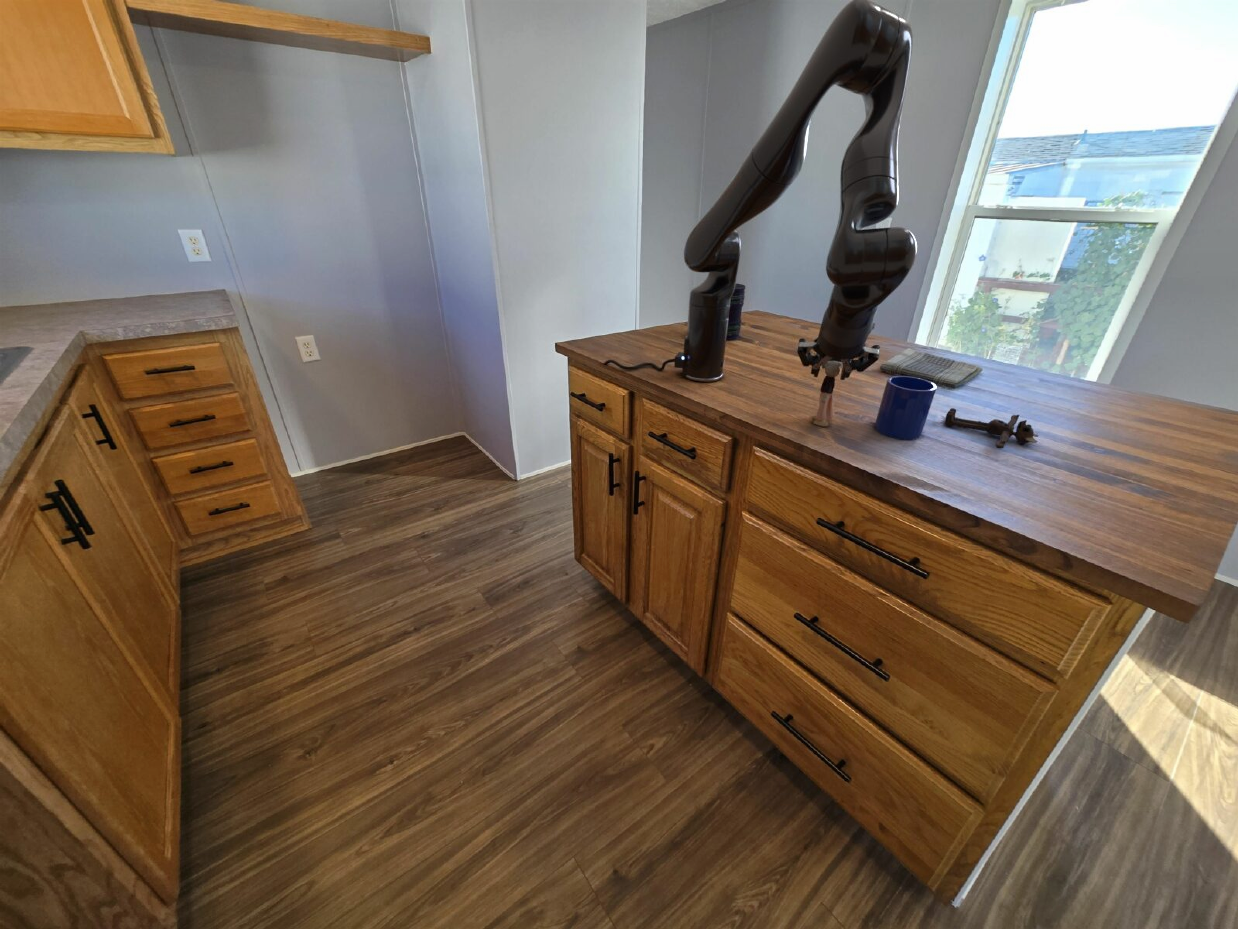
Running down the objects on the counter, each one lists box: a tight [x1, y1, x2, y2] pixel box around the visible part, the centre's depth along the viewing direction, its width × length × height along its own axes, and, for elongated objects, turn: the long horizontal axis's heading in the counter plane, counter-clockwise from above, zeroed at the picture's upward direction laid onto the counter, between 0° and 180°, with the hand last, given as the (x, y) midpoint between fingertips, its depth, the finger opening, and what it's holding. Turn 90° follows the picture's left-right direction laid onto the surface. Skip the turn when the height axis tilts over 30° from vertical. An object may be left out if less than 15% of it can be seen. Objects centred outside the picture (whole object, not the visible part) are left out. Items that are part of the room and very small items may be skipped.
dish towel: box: [879, 348, 983, 389], centre depth 125 cm, size 19×18×3 cm
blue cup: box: [874, 375, 938, 441], centre depth 94 cm, size 8×8×10 cm
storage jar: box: [726, 283, 746, 342], centre depth 151 cm, size 10×10×15 cm
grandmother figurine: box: [813, 361, 842, 428], centre depth 97 cm, size 8×4×13 cm, turn 169°
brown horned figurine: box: [944, 407, 1039, 450], centre depth 95 cm, size 18×4×14 cm
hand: (829, 374), depth 98 cm, fingers open, 4 cm apart
